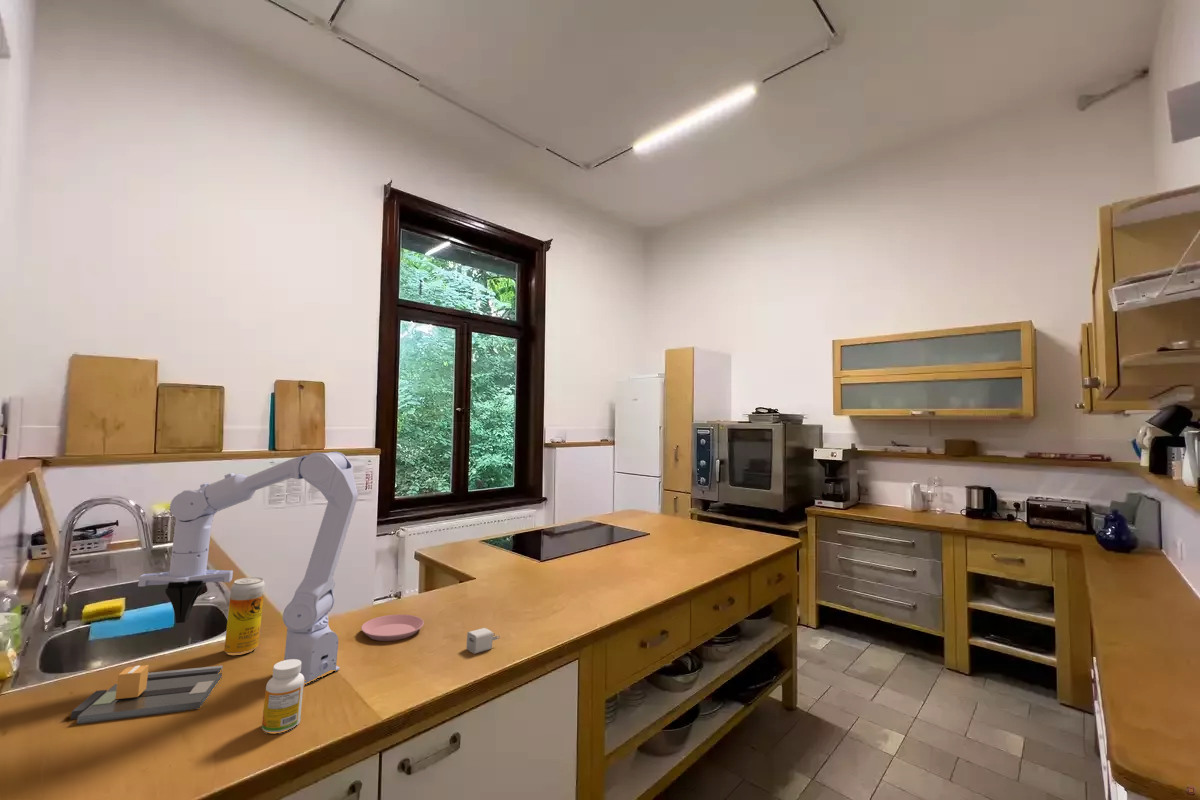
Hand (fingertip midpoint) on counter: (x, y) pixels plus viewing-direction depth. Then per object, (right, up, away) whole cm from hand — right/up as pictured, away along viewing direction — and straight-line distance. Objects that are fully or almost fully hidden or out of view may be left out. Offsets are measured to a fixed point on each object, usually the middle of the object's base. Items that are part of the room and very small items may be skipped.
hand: (182, 621), depth 97 cm
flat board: (+2, -9, -8) cm, 12 cm away
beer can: (+4, -11, +10) cm, 16 cm away
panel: (+4, -9, -10) cm, 14 cm away
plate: (+31, -14, +25) cm, 42 cm away
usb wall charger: (+55, -15, +18) cm, 60 cm away
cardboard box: (+1, -7, -12) cm, 14 cm away
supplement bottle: (+30, -10, -16) cm, 35 cm away
